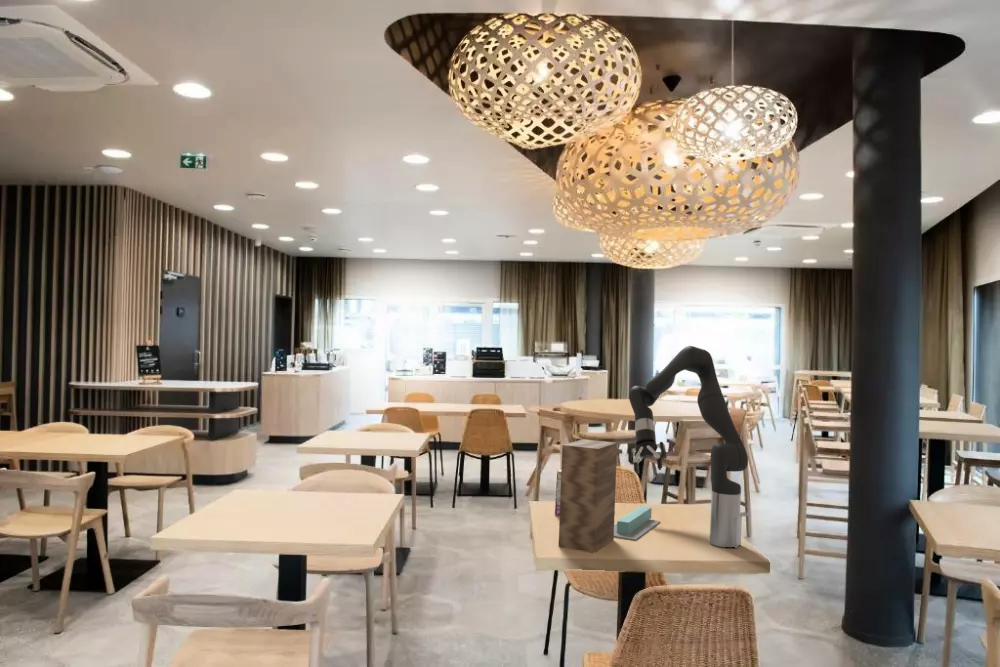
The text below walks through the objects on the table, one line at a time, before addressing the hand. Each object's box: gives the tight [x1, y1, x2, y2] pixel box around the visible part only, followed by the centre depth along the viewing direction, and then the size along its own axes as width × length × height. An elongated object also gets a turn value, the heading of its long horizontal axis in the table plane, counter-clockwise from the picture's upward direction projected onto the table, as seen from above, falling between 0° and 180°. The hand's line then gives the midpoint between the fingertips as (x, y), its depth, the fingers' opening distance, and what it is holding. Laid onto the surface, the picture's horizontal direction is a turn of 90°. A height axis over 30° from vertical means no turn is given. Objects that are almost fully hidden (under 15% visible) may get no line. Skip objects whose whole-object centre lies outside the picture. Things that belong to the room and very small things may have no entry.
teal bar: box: [616, 505, 652, 534], centre depth 258 cm, size 4×28×4 cm, turn 152°
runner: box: [614, 519, 661, 542], centre depth 255 cm, size 12×30×1 cm, turn 152°
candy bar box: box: [554, 469, 561, 516], centre depth 272 cm, size 11×5×16 cm, turn 84°
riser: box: [558, 438, 618, 553], centre depth 234 cm, size 12×18×32 cm, turn 152°
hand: (648, 471), depth 271 cm, fingers open, 8 cm apart
